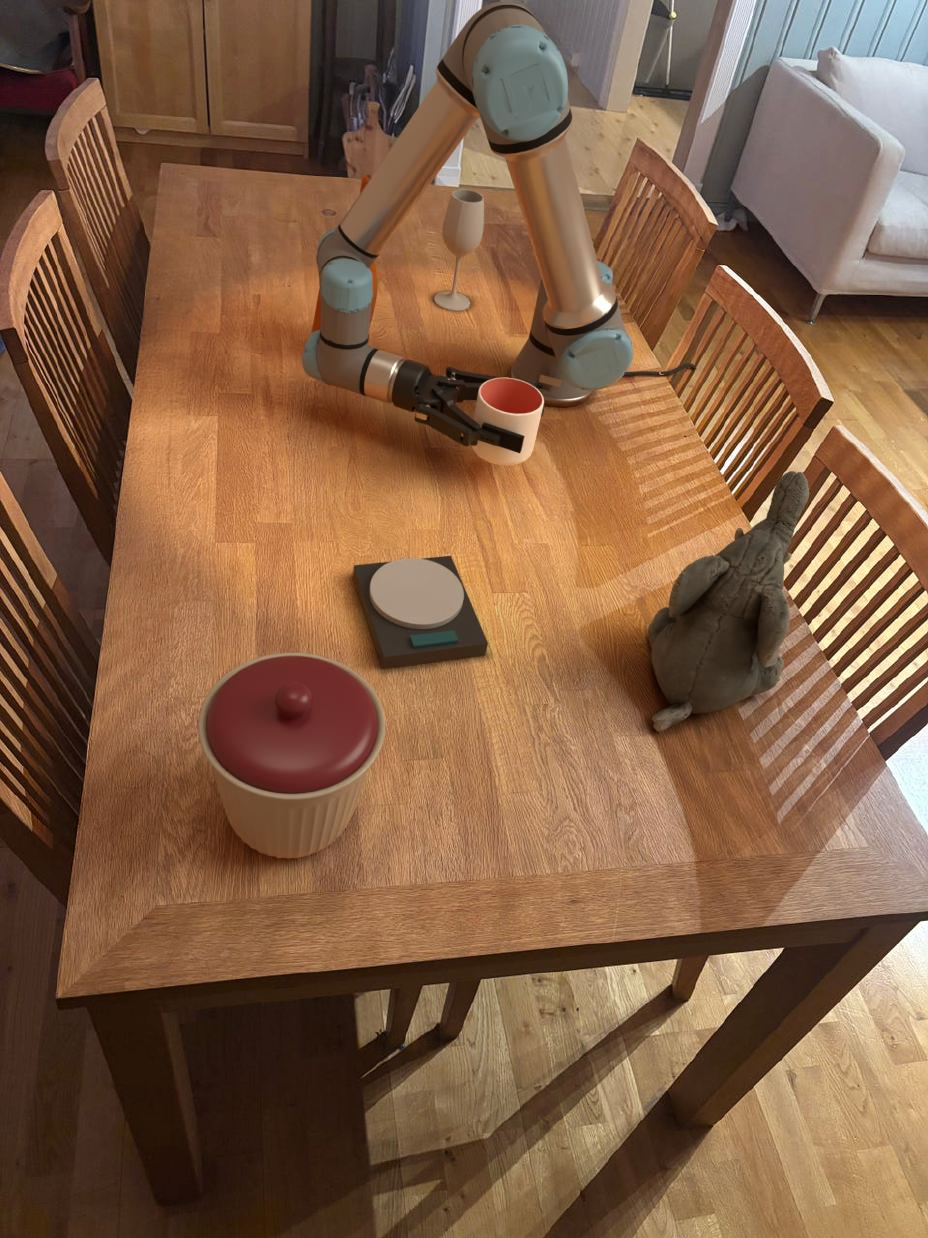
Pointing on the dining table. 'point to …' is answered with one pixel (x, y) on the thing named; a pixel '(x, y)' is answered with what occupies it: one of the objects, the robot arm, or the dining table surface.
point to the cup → (508, 417)
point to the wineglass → (461, 239)
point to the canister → (291, 749)
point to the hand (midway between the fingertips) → (533, 426)
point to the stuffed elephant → (728, 616)
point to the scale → (418, 611)
